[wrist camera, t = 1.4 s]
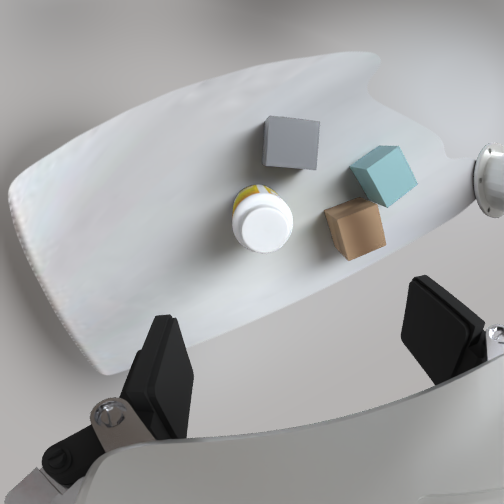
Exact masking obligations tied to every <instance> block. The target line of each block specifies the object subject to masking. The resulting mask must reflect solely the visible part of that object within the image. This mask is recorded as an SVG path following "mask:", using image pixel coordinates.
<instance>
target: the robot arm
mask: <svg viewBox="0 0 504 504" xmlns="http://www.w3.org/2000/svg"><path fill="white" fill-rule="evenodd" d="M474 190H475V196H476V199H477V202H478V205H479V207H480V209H481V210H482V211H483V212H484V213H485V214H486V215H487V216H490V217H493V218H499V217H501V216H502V215H504V146H503V145H502V144H499V143H489V144H487V145H485V147H484V148H483V149H482V150H481V152H480V153H479V156H478V158H477V161H476V165H475V171H474ZM484 325H485V322H484V321H483V320H482V319H481V318H480V317H478V316H477V315H476V314H475V313H474V312H472V311H471V310H470V309H469V308H468V307H466V306H465V305H464V304H463V303H462V302H460V301H459V300H458V299H457V298H455V297H454V296H453V295H452V294H450V293H449V292H448V291H447V290H445V289H444V288H443V287H441V286H440V285H439V284H438V283H436V282H435V281H433V280H432V279H431V278H430V277H428V276H427V275H422V276H418V277H414V278H413V279H412V281H411V282H410V284H409V290H408V297H407V303H406V309H405V315H404V320H403V326H402V332H401V339H402V342H403V343H404V345H405V346H406V347H407V348H408V350H409V351H410V352H411V353H412V355H413V356H414V357H415V359H416V360H417V361H418V363H419V364H420V365H421V367H422V368H423V369H424V371H425V372H426V373H427V374H428V376H429V377H430V378H431V380H432V381H433V383H434V384H435V385H436V386H433V387H431V388H429V389H426V390H424V391H421V392H419V393H416V394H413V395H411V396H408V397H406V398H402V399H400V400H397V401H394V402H391V403H388V404H385V405H382V406H379V407H376V408H373V409H369V410H366V411H362V412H359V413H355V414H352V415H348V416H344V417H340V418H336V419H332V420H328V421H323V422H318V423H314V424H309V425H304V426H299V427H293V428H288V429H281V430H274V431H267V432H260V433H251V434H241V435H231V436H220V437H203V438H186V437H187V428H188V419H189V411H190V403H191V394H192V387H193V380H194V374H193V369H192V366H191V363H190V360H189V357H188V354H187V351H186V347H185V344H184V341H183V338H182V334H181V331H180V328H179V324H178V321H177V319H176V318H172V316H171V315H158V316H155V318H154V320H153V323H152V325H151V328H150V330H149V332H148V335H147V337H146V340H145V342H144V345H143V347H142V350H139V351H138V352H137V354H136V356H135V358H134V361H133V363H132V366H131V369H130V371H129V374H128V376H127V379H126V381H125V384H124V387H123V389H122V392H121V395H120V397H119V398H116V397H114V398H108V399H105V400H102V401H101V402H99V403H98V404H97V405H96V406H95V407H94V408H93V410H92V411H91V415H90V421H91V425H90V426H88V427H86V428H84V429H82V430H81V431H79V432H77V433H75V434H73V435H71V436H69V437H68V438H66V439H64V440H62V441H60V442H58V443H56V444H54V445H52V446H51V447H49V448H48V449H47V450H46V452H45V453H44V455H43V457H42V466H43V467H42V468H41V469H40V470H39V469H38V468H37V467H36V468H35V469H34V470H33V471H32V472H31V473H30V474H29V475H27V476H26V477H25V478H24V479H23V480H22V481H21V482H20V483H19V484H18V485H16V486H15V487H14V488H13V489H12V490H11V491H10V492H9V493H8V494H7V496H6V498H5V504H504V325H500V324H495V325H491V326H489V327H488V328H487V329H486V332H485V331H484V330H483V328H484Z"/></svg>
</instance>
